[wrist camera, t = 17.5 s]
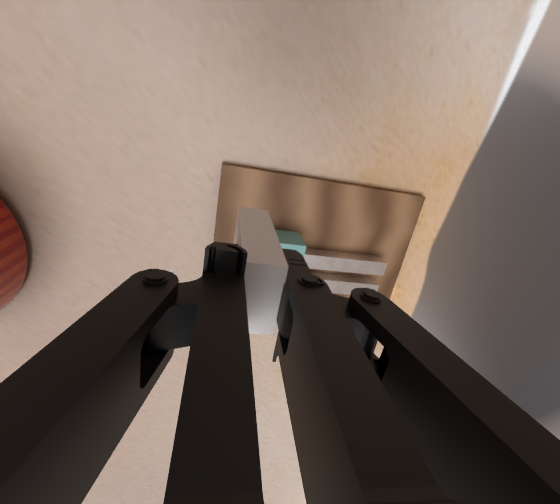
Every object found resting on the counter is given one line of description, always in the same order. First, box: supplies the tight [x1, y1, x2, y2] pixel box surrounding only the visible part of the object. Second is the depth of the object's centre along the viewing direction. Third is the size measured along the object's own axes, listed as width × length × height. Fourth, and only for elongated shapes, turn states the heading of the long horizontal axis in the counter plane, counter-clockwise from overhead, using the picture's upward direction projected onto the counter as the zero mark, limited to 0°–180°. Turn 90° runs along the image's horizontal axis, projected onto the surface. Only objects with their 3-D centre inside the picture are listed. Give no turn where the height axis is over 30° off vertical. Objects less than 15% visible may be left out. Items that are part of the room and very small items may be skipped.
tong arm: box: [304, 248, 387, 276], centre depth 45 cm, size 19×3×3 cm, turn 80°
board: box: [214, 163, 425, 299], centre depth 46 cm, size 28×19×1 cm
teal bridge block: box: [275, 229, 307, 257], centre depth 43 cm, size 4×10×5 cm, turn 170°
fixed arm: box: [311, 271, 379, 295], centre depth 46 cm, size 23×2×2 cm, turn 80°
